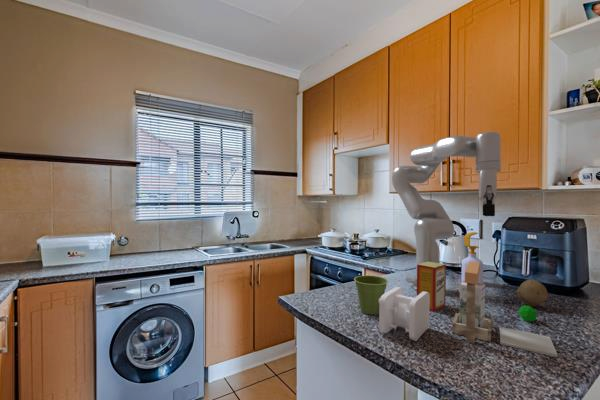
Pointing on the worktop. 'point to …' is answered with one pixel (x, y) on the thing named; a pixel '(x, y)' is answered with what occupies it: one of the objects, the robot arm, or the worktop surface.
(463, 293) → the syrup box
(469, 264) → the bar
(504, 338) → the mat
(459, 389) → the worktop surface
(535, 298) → the natural sponge
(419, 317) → the cable organizer
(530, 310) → the polyhedron
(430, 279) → the baking soda box
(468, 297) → the cradle
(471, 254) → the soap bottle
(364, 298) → the plant pot
